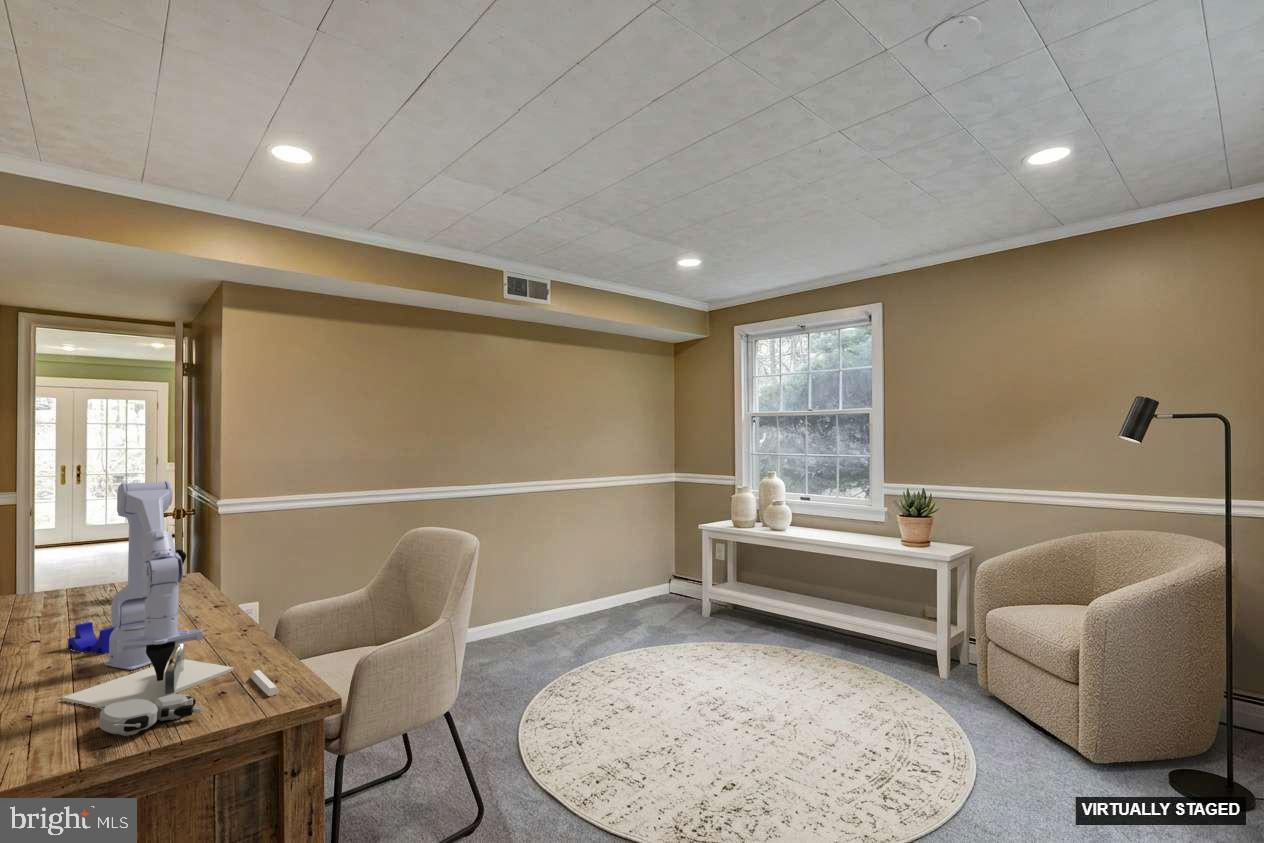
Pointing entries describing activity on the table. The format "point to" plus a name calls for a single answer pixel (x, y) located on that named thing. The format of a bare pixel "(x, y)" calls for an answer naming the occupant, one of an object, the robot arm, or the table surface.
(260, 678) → the marker
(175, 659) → the gate
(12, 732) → the table surface
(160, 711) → the robot toy
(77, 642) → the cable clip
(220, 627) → the table surface
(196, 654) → the table surface
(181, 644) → the gate post
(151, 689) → the gate board
